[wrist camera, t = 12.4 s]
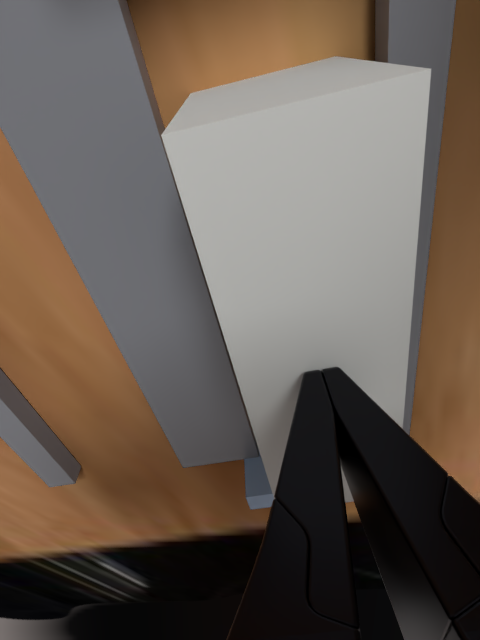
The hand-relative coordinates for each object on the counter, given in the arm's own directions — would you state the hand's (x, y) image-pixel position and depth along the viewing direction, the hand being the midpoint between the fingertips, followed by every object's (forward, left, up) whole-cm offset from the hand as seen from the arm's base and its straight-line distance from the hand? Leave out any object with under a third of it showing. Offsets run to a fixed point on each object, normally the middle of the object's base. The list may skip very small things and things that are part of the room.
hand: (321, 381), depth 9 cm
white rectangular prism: (0, 0, -6) cm, 6 cm away
